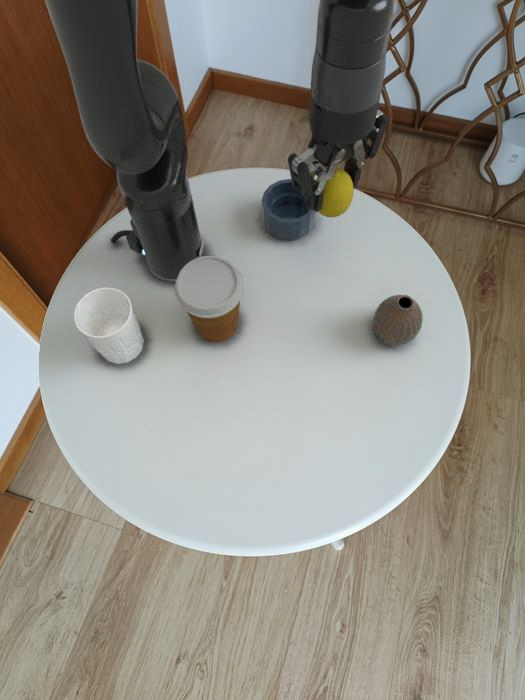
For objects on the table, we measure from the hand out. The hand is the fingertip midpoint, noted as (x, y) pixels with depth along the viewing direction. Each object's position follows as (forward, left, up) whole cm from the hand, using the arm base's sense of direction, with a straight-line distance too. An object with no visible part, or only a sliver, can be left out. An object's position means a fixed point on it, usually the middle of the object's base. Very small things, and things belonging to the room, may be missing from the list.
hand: (331, 195), depth 72 cm
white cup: (-18, -29, -17) cm, 38 cm away
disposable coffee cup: (-8, -18, -17) cm, 26 cm away
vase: (+15, -4, -17) cm, 23 cm away
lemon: (0, 0, -4) cm, 4 cm away
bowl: (-10, +5, -16) cm, 20 cm away
